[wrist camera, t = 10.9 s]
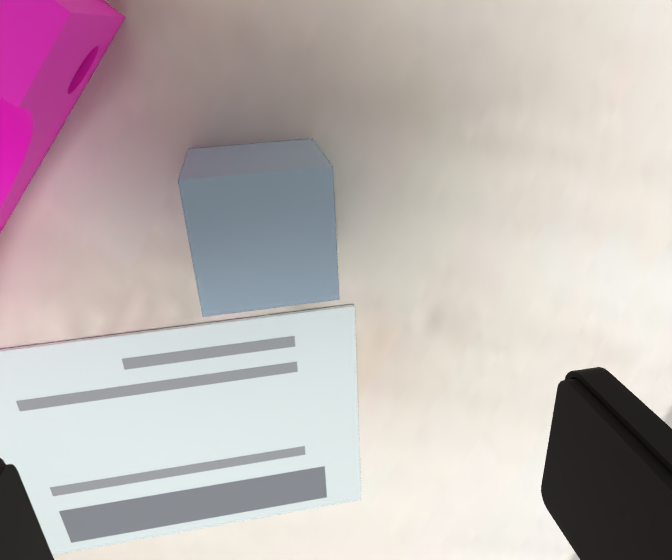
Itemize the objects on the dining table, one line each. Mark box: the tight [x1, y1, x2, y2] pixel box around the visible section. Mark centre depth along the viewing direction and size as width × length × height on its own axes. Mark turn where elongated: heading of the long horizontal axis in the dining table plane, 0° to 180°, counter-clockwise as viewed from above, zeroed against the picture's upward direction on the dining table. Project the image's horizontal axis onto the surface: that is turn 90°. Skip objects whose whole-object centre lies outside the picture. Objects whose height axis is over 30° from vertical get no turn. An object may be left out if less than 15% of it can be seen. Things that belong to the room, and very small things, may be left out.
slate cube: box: [178, 139, 339, 317], centre depth 20 cm, size 5×5×5 cm
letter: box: [0, 304, 361, 555], centre depth 27 cm, size 13×18×1 cm
